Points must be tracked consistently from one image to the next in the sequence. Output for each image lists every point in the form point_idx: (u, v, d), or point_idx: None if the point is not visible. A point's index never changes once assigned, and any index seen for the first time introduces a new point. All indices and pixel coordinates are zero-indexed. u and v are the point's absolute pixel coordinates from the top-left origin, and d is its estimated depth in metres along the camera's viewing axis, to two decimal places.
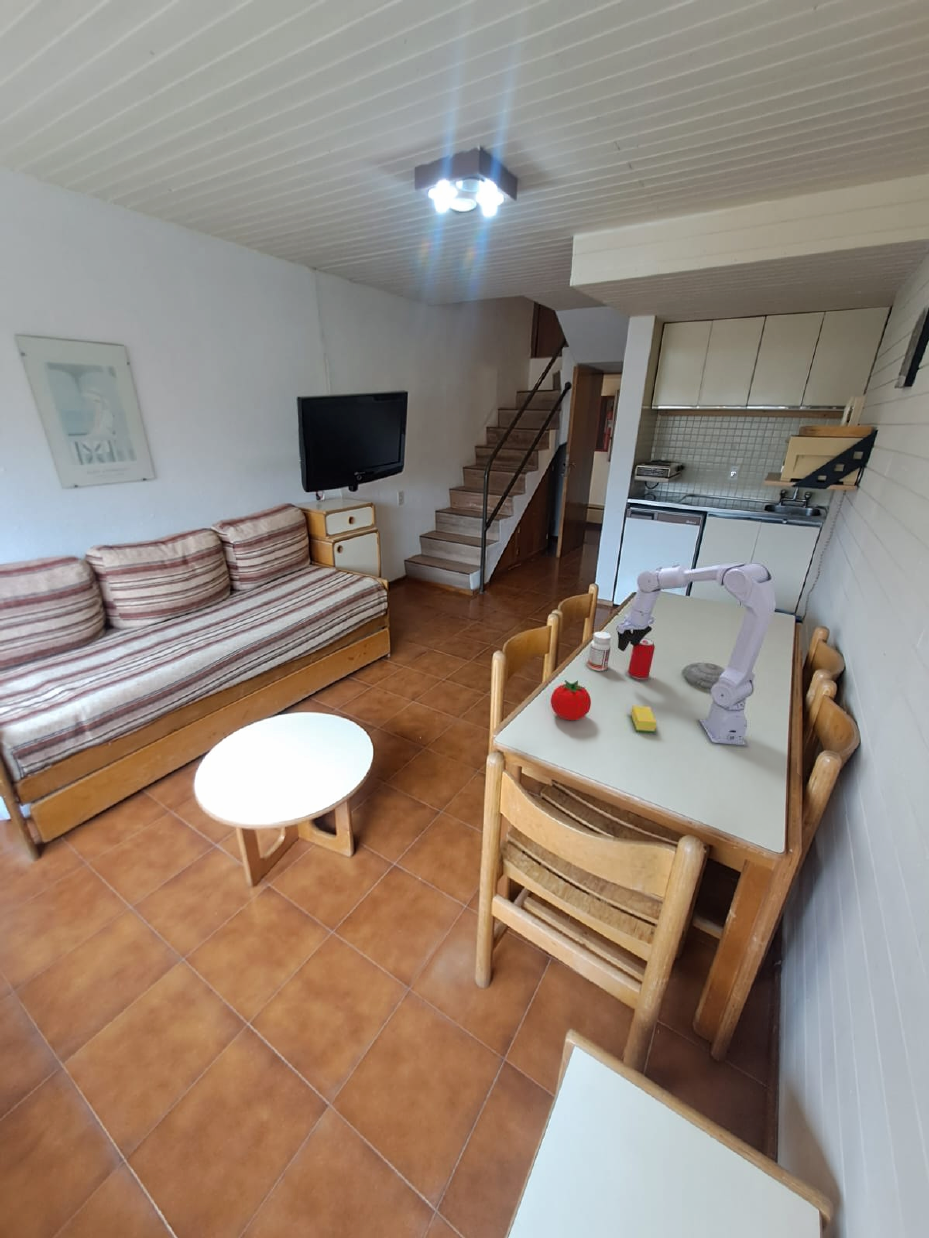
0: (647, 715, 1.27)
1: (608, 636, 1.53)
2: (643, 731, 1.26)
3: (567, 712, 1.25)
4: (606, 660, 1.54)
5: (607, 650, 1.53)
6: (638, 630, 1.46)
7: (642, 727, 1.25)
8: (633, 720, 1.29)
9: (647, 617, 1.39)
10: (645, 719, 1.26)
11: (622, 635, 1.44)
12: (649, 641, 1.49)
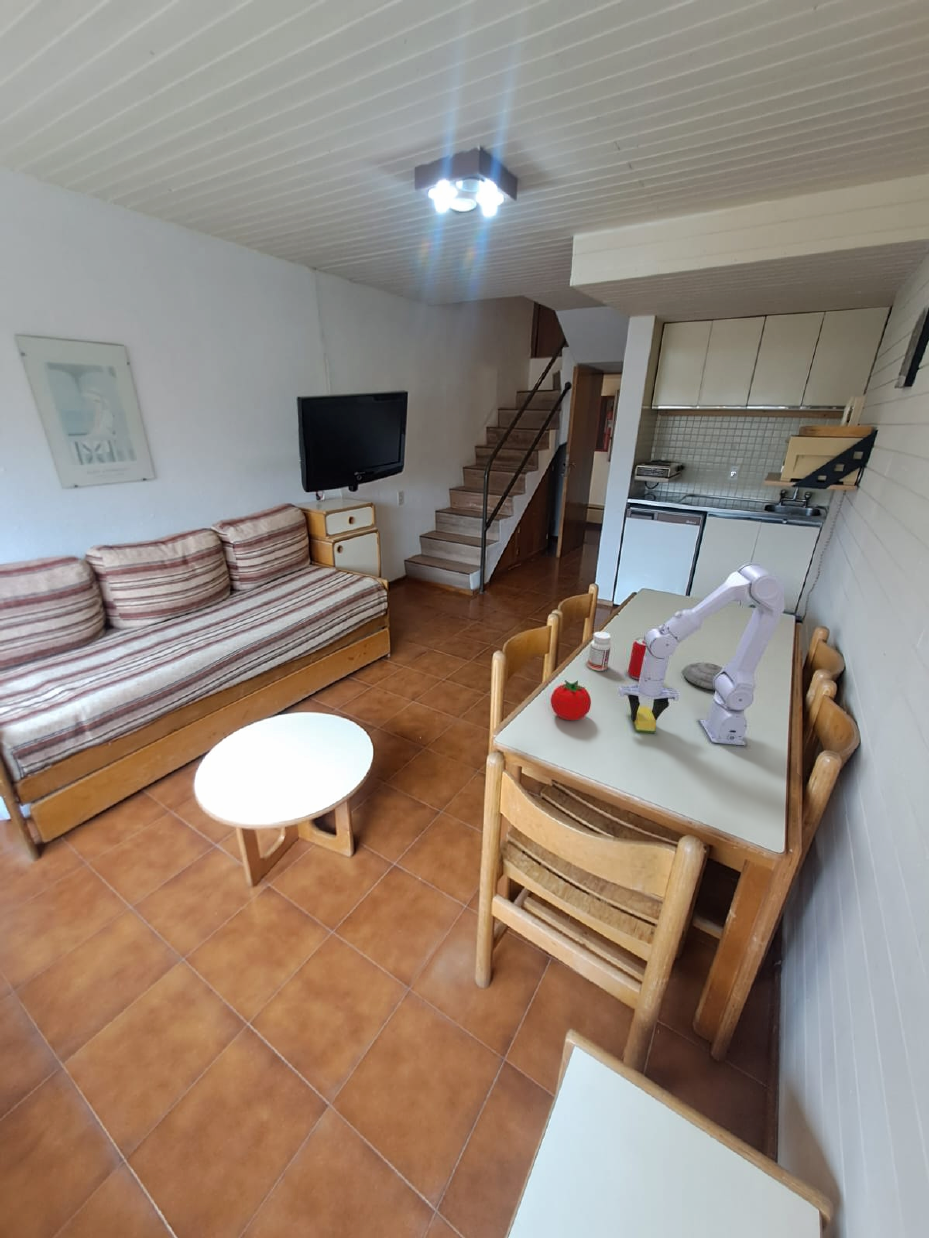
0: (647, 715, 1.27)
1: (608, 636, 1.53)
2: (643, 731, 1.26)
3: (567, 712, 1.25)
4: (606, 660, 1.54)
5: (607, 650, 1.53)
6: (655, 703, 1.27)
7: (642, 727, 1.25)
8: None
9: (652, 685, 1.21)
10: (645, 719, 1.26)
11: None
12: None
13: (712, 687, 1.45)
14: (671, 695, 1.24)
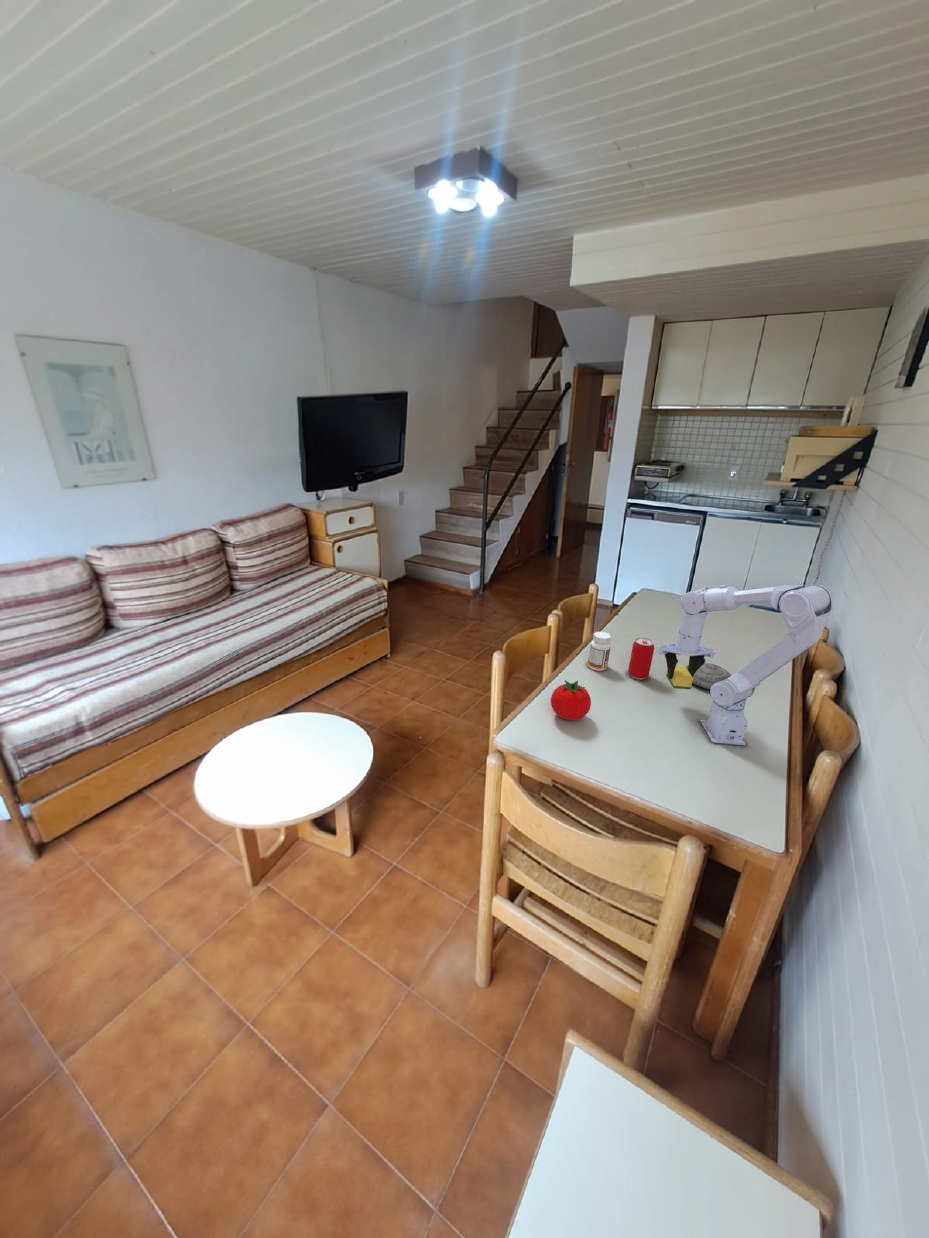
0: (684, 672, 1.34)
1: (608, 636, 1.53)
2: (680, 687, 1.33)
3: (567, 712, 1.25)
4: (606, 660, 1.54)
5: (607, 650, 1.53)
6: (692, 661, 1.33)
7: (679, 683, 1.32)
8: None
9: (691, 642, 1.28)
10: (682, 675, 1.32)
11: None
12: (649, 641, 1.49)
13: None
14: (707, 652, 1.30)
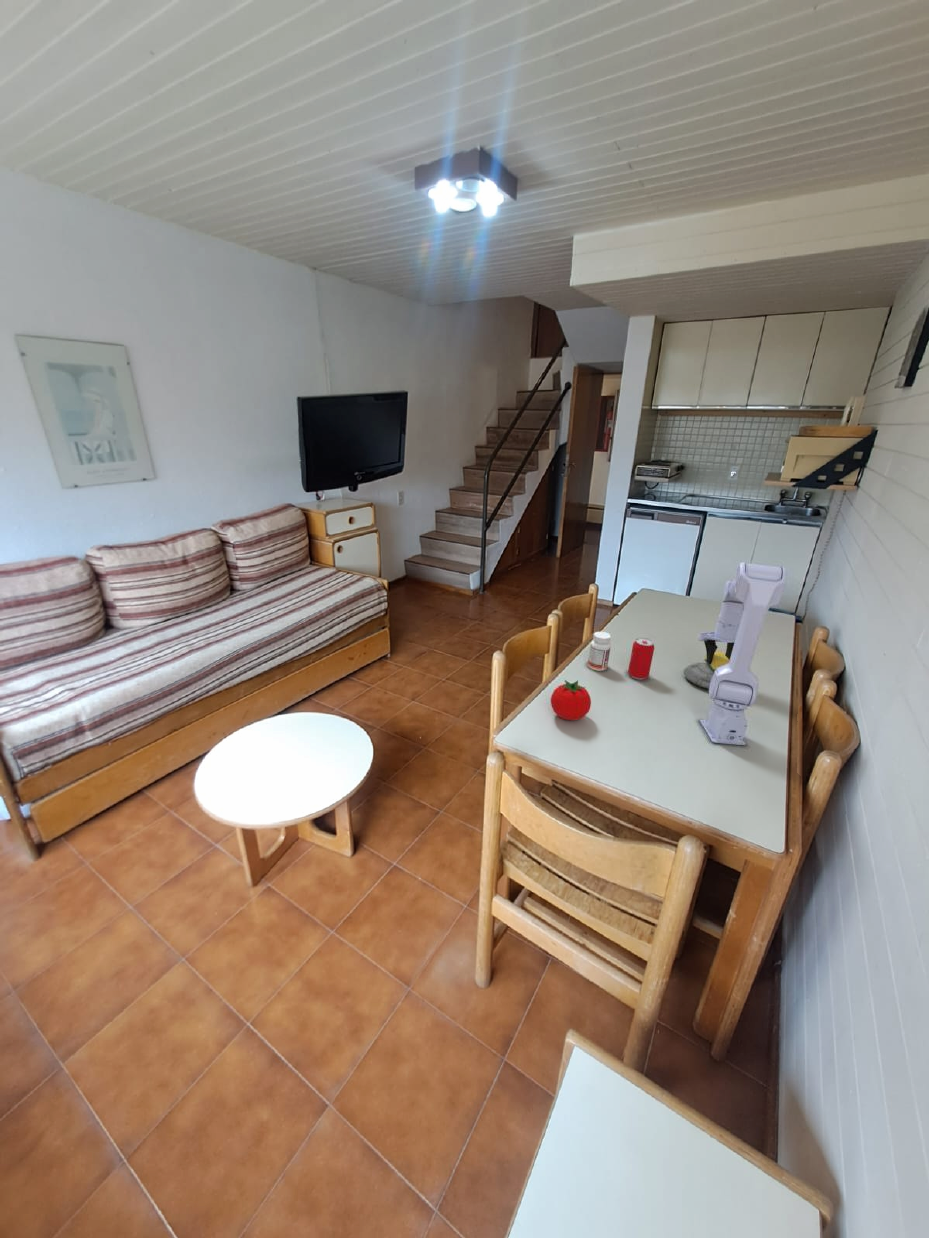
0: (722, 657, 1.47)
1: (608, 636, 1.53)
2: None
3: (567, 712, 1.25)
4: (606, 660, 1.54)
5: (607, 650, 1.53)
6: (729, 648, 1.47)
7: None
8: None
9: (730, 630, 1.42)
10: (721, 660, 1.46)
11: None
12: (649, 641, 1.49)
13: None
14: None
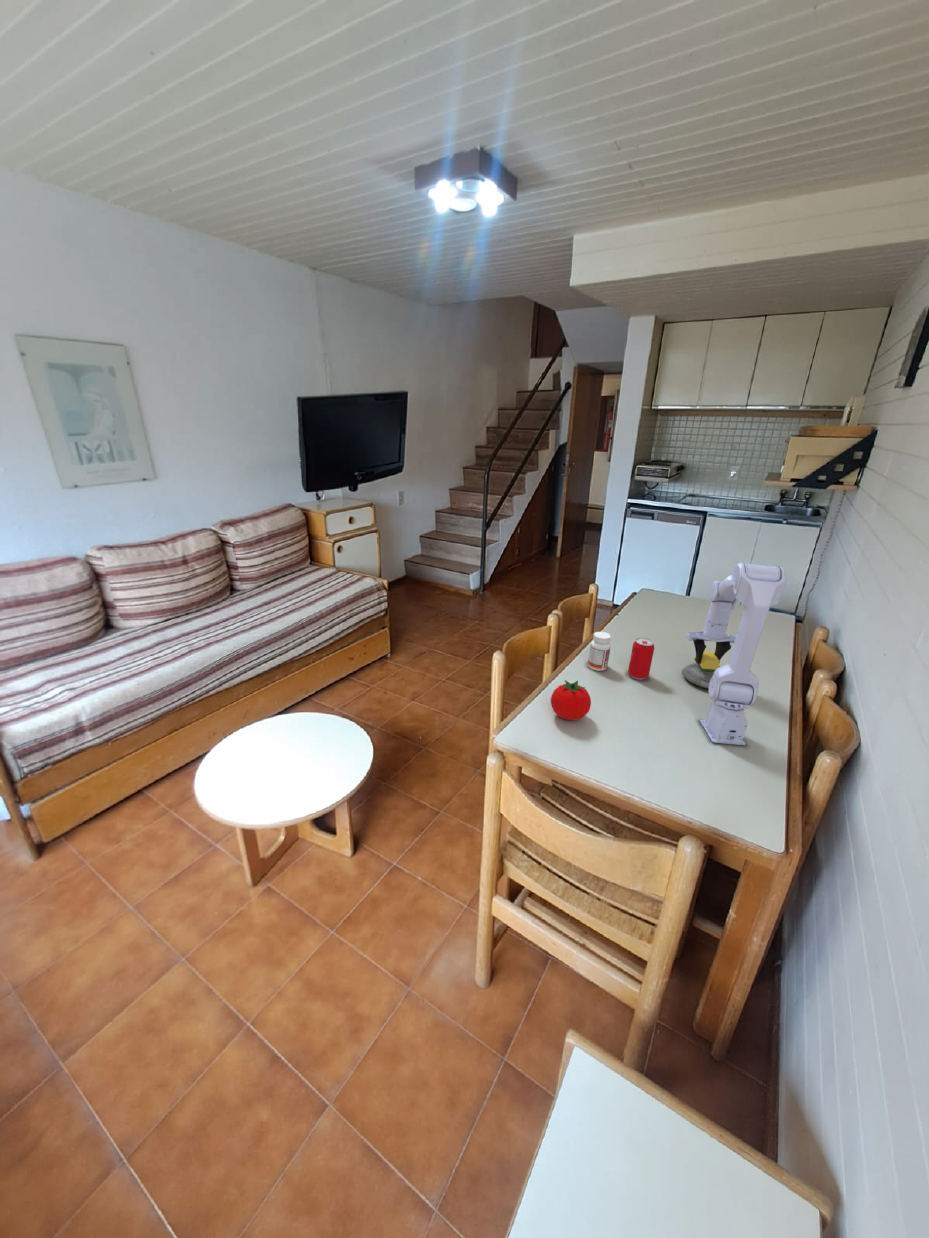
0: (711, 656, 1.48)
1: (608, 636, 1.53)
2: (708, 670, 1.46)
3: (567, 712, 1.25)
4: (606, 660, 1.54)
5: (607, 650, 1.53)
6: (718, 647, 1.47)
7: (707, 666, 1.46)
8: None
9: (718, 629, 1.42)
10: (710, 659, 1.46)
11: None
12: (649, 641, 1.49)
13: None
14: (733, 639, 1.44)
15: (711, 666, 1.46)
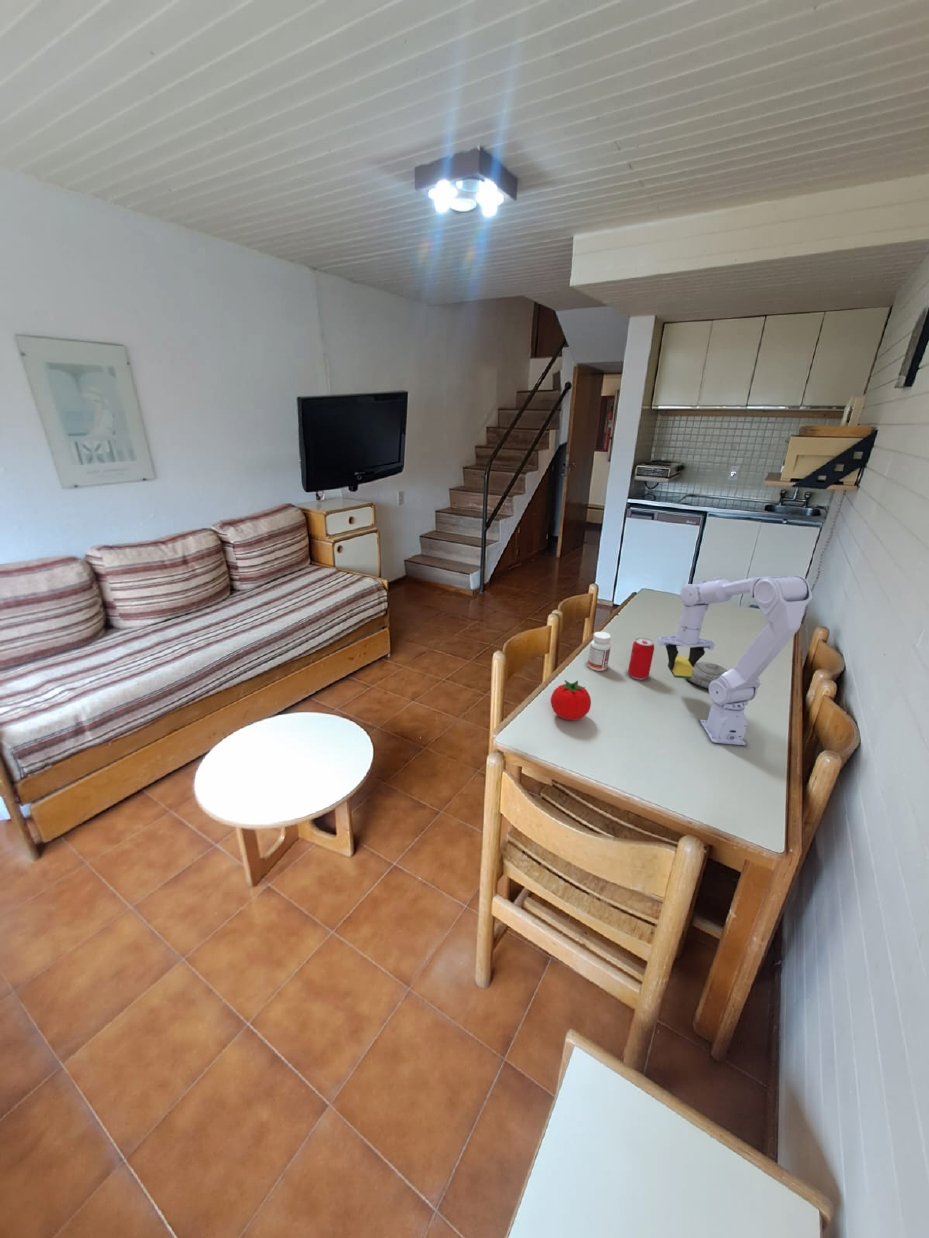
0: (684, 662, 1.39)
1: (608, 636, 1.53)
2: (681, 676, 1.38)
3: (567, 712, 1.25)
4: (606, 660, 1.54)
5: (607, 650, 1.53)
6: (692, 653, 1.38)
7: (680, 673, 1.37)
8: None
9: (690, 634, 1.33)
10: (682, 665, 1.37)
11: None
12: (649, 641, 1.49)
13: None
14: (707, 644, 1.35)
15: (684, 673, 1.37)
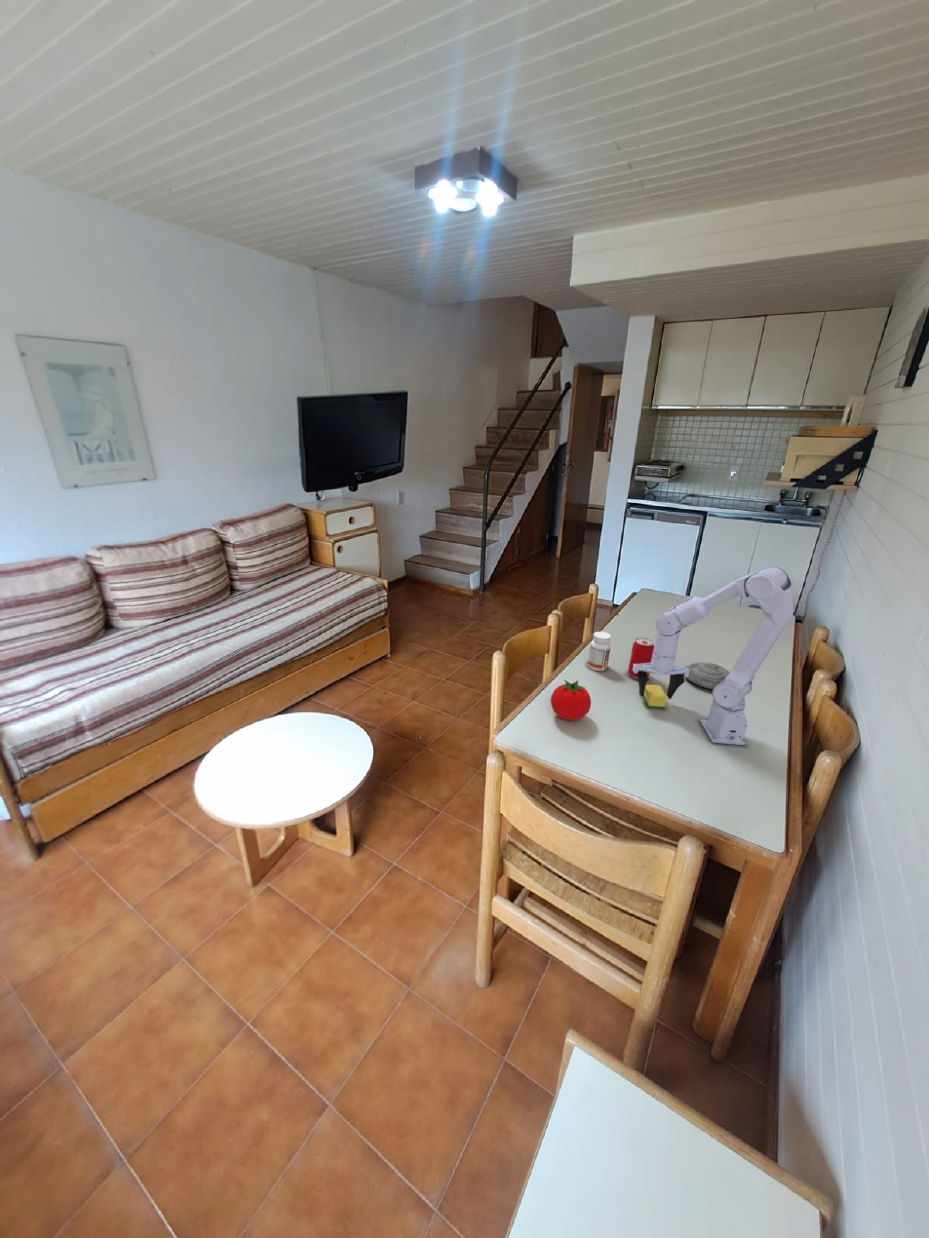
0: (659, 692, 1.38)
1: (608, 636, 1.53)
2: (655, 707, 1.37)
3: (567, 712, 1.25)
4: (606, 660, 1.54)
5: (607, 650, 1.53)
6: (672, 680, 1.37)
7: (654, 703, 1.36)
8: (645, 697, 1.40)
9: (664, 662, 1.32)
10: (656, 696, 1.36)
11: None
12: (649, 641, 1.49)
13: (713, 687, 1.45)
14: (681, 671, 1.34)
15: (658, 703, 1.36)
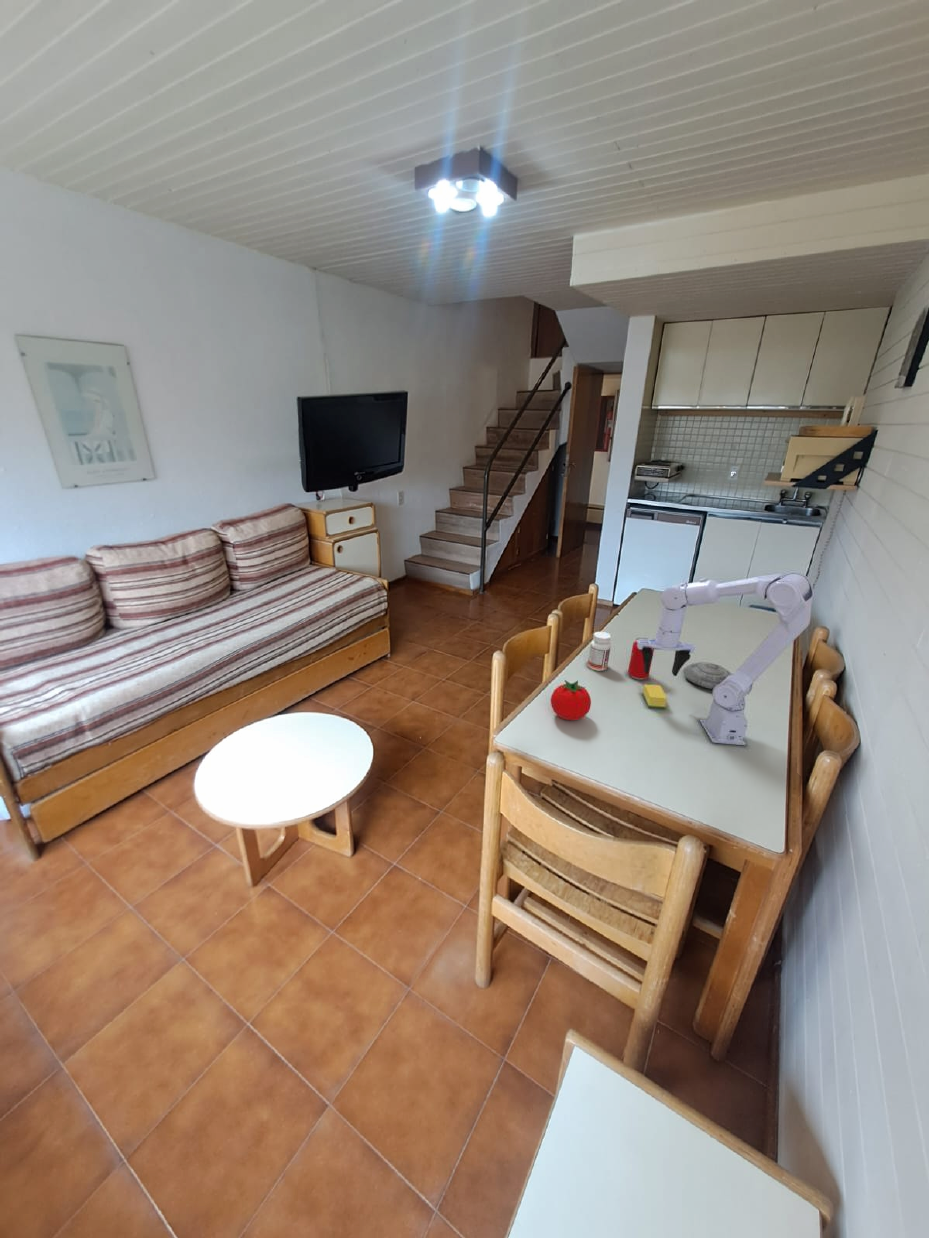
0: (659, 692, 1.38)
1: (608, 636, 1.53)
2: (655, 707, 1.37)
3: (567, 712, 1.25)
4: (606, 660, 1.54)
5: (607, 650, 1.53)
6: (677, 657, 1.34)
7: (654, 703, 1.36)
8: (645, 697, 1.40)
9: (670, 637, 1.29)
10: (656, 696, 1.36)
11: None
12: None
13: (713, 687, 1.45)
14: (687, 647, 1.31)
15: (658, 703, 1.36)
